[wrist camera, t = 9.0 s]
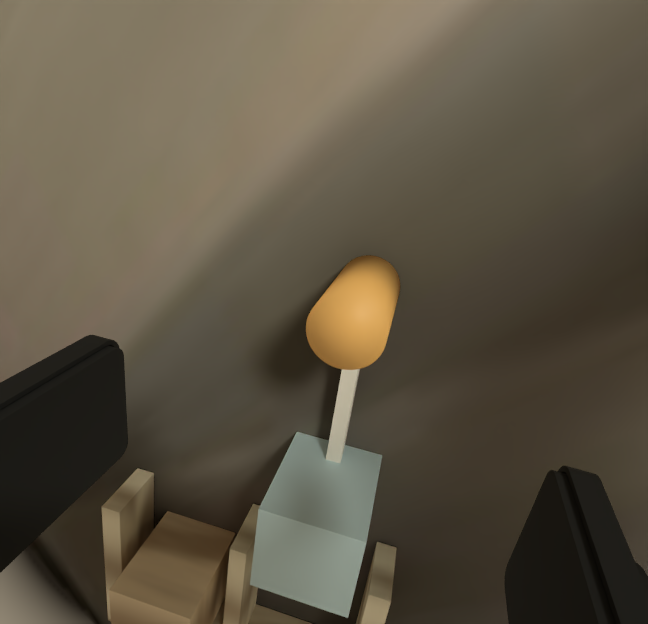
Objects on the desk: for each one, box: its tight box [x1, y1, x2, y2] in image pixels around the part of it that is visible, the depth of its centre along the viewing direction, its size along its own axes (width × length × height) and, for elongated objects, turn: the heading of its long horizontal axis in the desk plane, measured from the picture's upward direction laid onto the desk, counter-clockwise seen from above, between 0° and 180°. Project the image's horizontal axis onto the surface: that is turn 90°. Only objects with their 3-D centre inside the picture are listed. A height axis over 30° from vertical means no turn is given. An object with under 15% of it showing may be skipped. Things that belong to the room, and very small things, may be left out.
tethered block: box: [250, 255, 400, 618], centre depth 21 cm, size 16×5×6 cm, turn 172°
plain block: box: [109, 511, 236, 624], centre depth 28 cm, size 5×5×6 cm
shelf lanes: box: [102, 468, 397, 624], centre depth 29 cm, size 10×17×4 cm, turn 82°
